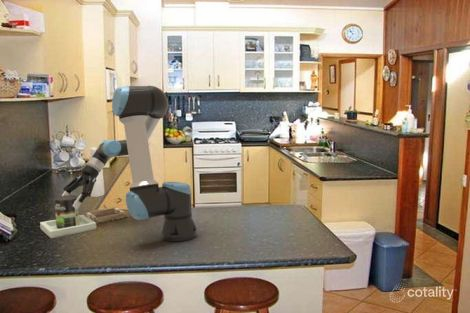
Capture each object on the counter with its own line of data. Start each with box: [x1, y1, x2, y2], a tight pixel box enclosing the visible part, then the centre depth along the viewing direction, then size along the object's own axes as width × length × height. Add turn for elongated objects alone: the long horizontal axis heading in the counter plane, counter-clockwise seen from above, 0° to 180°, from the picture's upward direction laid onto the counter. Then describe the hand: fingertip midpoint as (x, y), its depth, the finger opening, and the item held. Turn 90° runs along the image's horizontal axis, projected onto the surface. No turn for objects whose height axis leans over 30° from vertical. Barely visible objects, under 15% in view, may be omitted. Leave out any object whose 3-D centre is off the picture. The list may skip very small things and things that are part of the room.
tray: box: [39, 214, 97, 240], centre depth 212 cm, size 20×20×3 cm
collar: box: [85, 206, 128, 224], centre depth 230 cm, size 15×15×2 cm
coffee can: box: [53, 194, 80, 229], centre depth 211 cm, size 10×10×14 cm
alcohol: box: [89, 146, 105, 198], centre depth 282 cm, size 9×9×30 cm
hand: (66, 205), depth 211 cm, fingers open, 13 cm apart
